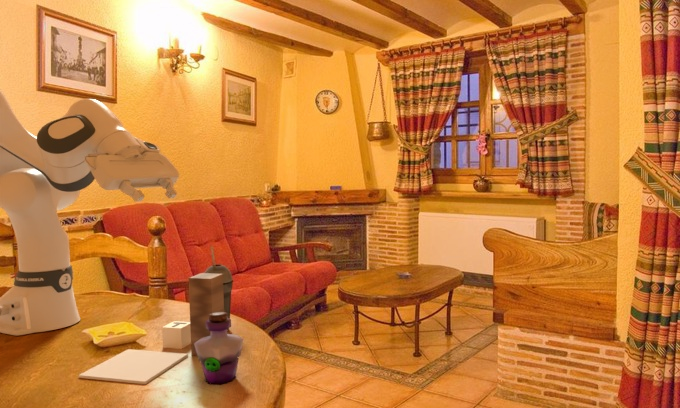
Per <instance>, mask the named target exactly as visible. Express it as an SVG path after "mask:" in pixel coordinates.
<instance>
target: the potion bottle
mask: <svg viewBox="0 0 680 408" xmlns="http://www.w3.org/2000/svg"><path fill="white" fill-rule="evenodd" d="M231 327H232V319H231V318H230V319H229V318H228V317H227V313H226V312H216V313H211V314H209V320H207V321H206V329H207V330H209V331H210V336H207V337H202V338H201V339H199V340H198V341H197V342H196V343H194V345H195V348H196V352H197V356H196V357H197V359H198V362H200V364H201V368H202V372H203V375H204V378H205V379H204V382H205V383H207V384H208V385H214V386H215V385H217V386H221V385H225V384H228V383H229V384H230V383H233V381H234V380H235V379H236V378H237V376H236V375H237V370H238V365H239V361H240V359H239V357H240V356H241V355H242V349H243V344H244V338H243V337H241V336H239V335H237V334H234V333H233V334H232V333H228V331H227V329H229V330H230V328H231ZM205 380H206V381H205Z"/></svg>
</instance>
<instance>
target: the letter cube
mask: <svg viewBox="0 0 680 408" xmlns="http://www.w3.org/2000/svg"><path fill="white" fill-rule="evenodd" d="M161 330H162V348H164V349H165V348H166V349H176V350H177V349H178V350H182V348H183V349H184V348H186V347H187V346H189V345H191V329H190V321H181V320H180V321H176V320H175V321H172V322H169V323H167V324H166V325H163V326H162V327H161Z"/></svg>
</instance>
